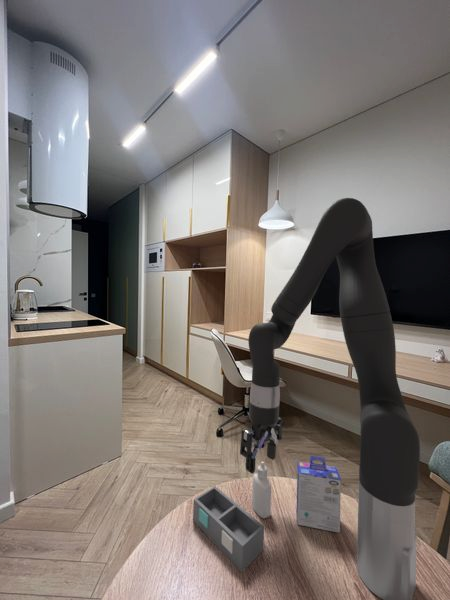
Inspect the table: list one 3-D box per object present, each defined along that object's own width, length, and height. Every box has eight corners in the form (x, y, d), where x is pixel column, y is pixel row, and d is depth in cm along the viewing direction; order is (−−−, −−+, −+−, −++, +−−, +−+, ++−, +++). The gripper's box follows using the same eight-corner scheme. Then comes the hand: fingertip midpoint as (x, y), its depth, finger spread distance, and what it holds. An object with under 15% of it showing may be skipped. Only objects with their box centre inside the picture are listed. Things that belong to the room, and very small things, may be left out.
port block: (263, 549, 54) (264, 526, 54) (240, 573, 49) (241, 547, 49) (214, 505, 65) (214, 485, 65) (191, 521, 60) (192, 499, 60)
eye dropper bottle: (268, 502, 67) (269, 456, 67) (270, 520, 61) (272, 470, 62) (251, 500, 67) (253, 455, 68) (252, 518, 62) (254, 468, 62)
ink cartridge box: (335, 515, 64) (337, 457, 64) (341, 534, 58) (343, 470, 59) (295, 507, 66) (297, 451, 66) (296, 525, 60) (298, 464, 60)
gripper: (258, 413, 57) (255, 485, 57) (292, 399, 67) (289, 460, 67) (234, 402, 63) (231, 468, 62) (269, 390, 72) (266, 447, 72)
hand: (261, 464), depth 65 cm, fingers open, 8 cm apart
